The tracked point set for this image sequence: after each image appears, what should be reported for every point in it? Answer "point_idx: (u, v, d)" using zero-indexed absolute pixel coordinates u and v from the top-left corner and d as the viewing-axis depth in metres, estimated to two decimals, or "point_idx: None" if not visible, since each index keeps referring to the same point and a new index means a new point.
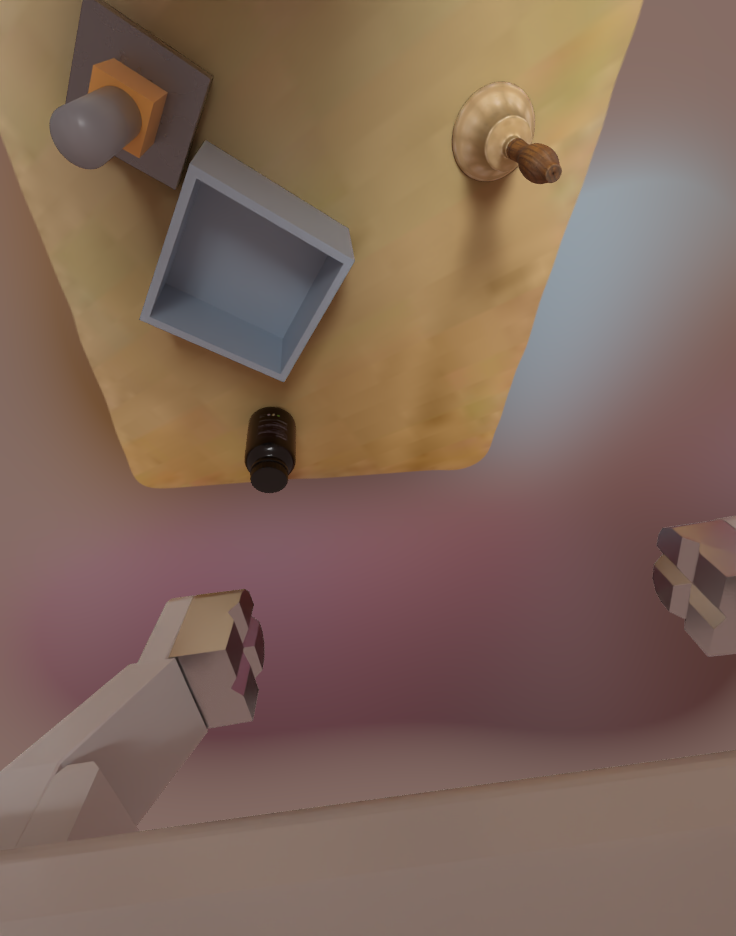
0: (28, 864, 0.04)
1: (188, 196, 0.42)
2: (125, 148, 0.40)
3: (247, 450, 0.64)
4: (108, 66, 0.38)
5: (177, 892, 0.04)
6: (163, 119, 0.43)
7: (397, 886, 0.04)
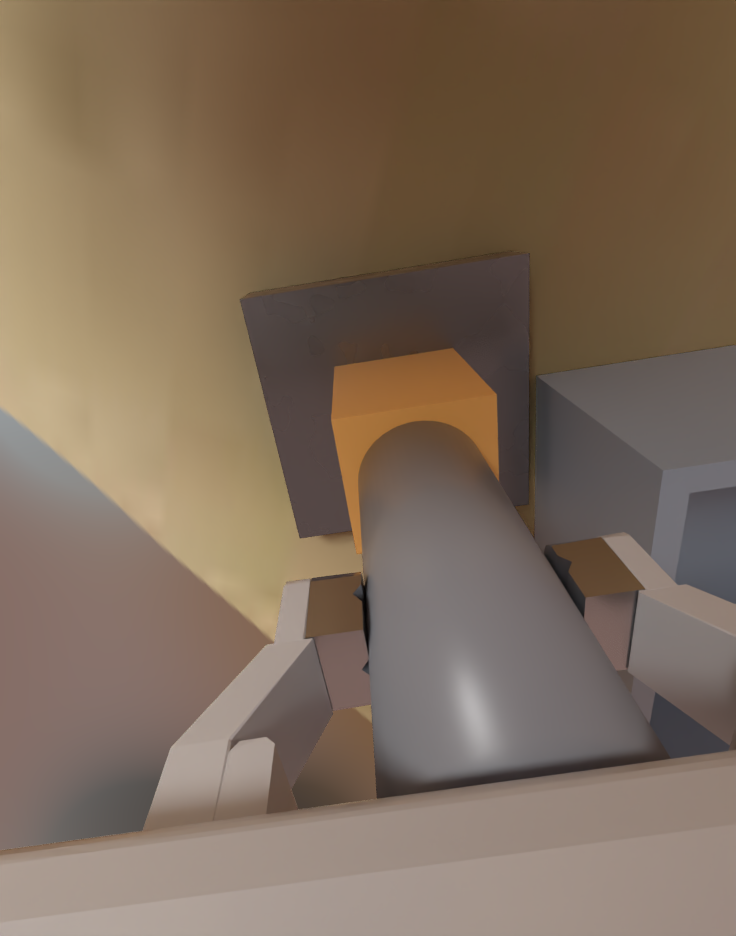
0: (28, 864, 0.04)
1: (676, 546, 0.13)
2: None
3: None
4: (348, 392, 0.15)
5: (177, 891, 0.04)
6: None
7: (397, 886, 0.04)
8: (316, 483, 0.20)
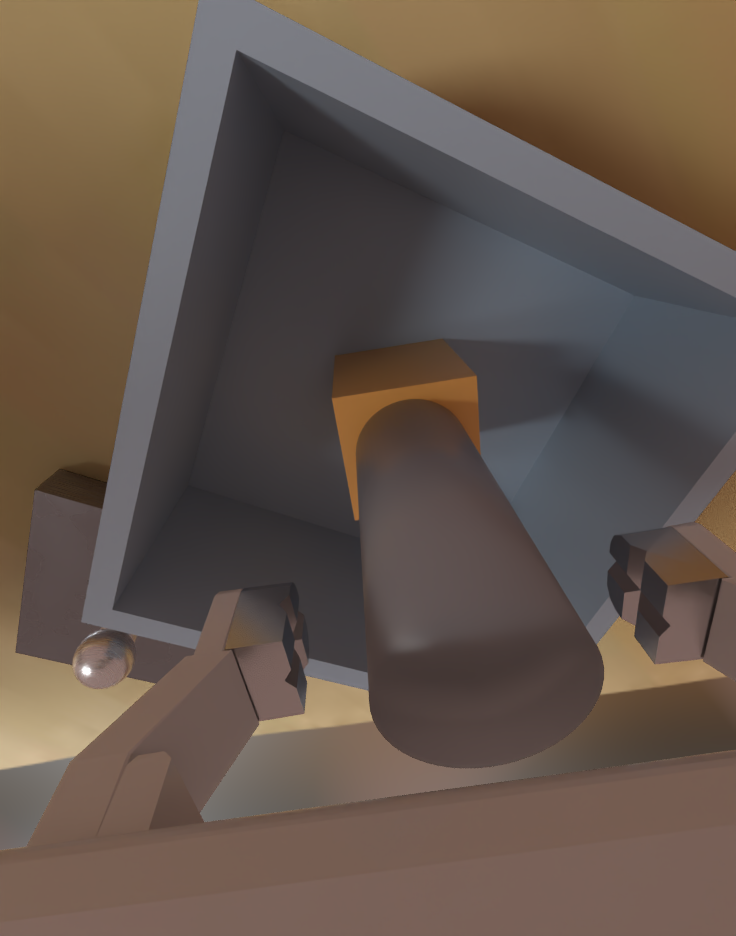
0: (28, 864, 0.04)
1: (167, 626, 0.15)
2: None
3: None
4: (347, 376, 0.17)
5: (177, 891, 0.04)
6: None
7: (397, 886, 0.04)
8: (169, 670, 0.25)
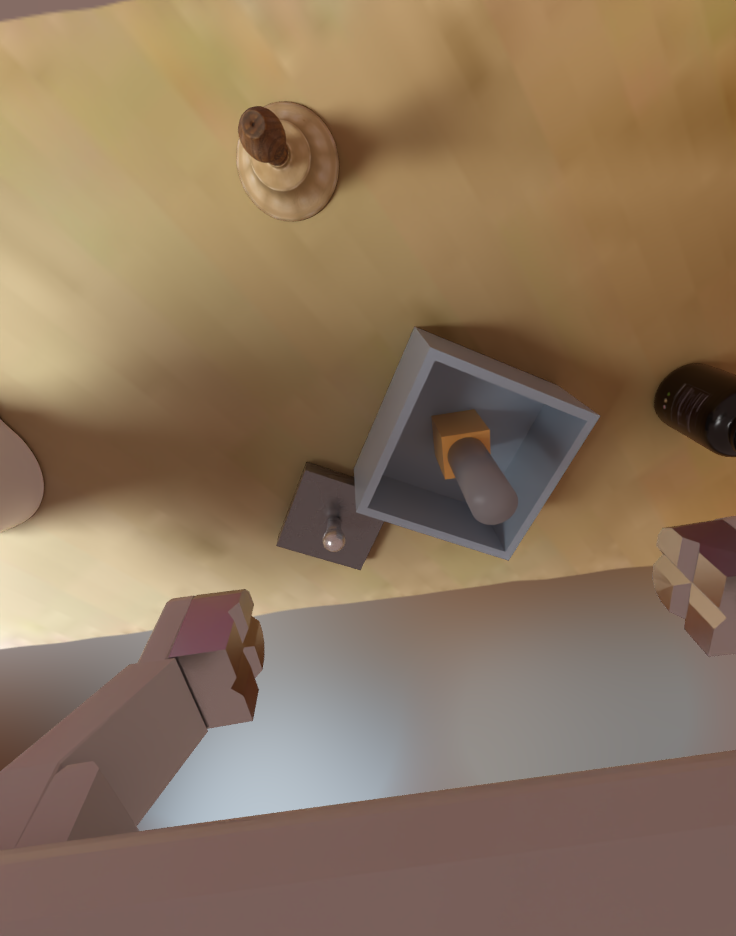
0: (28, 864, 0.04)
1: (384, 514, 0.44)
2: None
3: None
4: (442, 427, 0.46)
5: (177, 891, 0.04)
6: (341, 504, 0.52)
7: (397, 886, 0.04)
8: (343, 556, 0.55)
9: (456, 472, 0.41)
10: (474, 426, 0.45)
